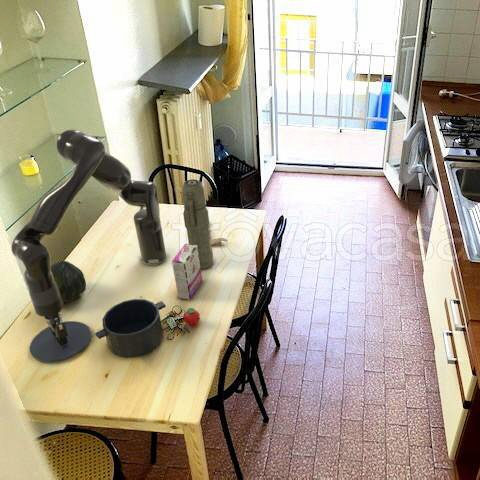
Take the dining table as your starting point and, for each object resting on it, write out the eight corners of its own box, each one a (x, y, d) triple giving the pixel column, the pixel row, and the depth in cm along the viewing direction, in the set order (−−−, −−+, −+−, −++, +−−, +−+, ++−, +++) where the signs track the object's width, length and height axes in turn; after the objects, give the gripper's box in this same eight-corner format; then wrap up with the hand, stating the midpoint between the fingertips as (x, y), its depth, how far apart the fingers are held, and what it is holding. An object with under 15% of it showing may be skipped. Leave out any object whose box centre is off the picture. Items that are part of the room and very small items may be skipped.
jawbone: (208, 252, 205) (207, 247, 204) (189, 229, 220) (188, 225, 219) (228, 244, 209) (227, 239, 208) (208, 222, 224) (207, 218, 222)
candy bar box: (190, 279, 189) (185, 242, 180) (202, 281, 188) (198, 244, 179) (177, 298, 180) (171, 260, 171) (190, 300, 179) (185, 262, 170)
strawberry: (182, 323, 169) (180, 310, 166) (195, 316, 172) (193, 303, 169) (190, 331, 166) (188, 317, 163) (203, 324, 169) (201, 310, 166)
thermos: (188, 273, 192) (176, 190, 173) (191, 255, 202) (181, 175, 183) (212, 272, 193) (203, 189, 174) (214, 254, 203) (206, 174, 184)
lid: (22, 341, 161) (16, 327, 157) (78, 316, 171) (73, 302, 168) (43, 373, 150) (37, 358, 147) (101, 344, 161) (97, 329, 157)
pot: (91, 341, 161) (84, 319, 156) (154, 310, 174) (150, 288, 169) (115, 371, 152) (108, 348, 146) (180, 336, 164) (176, 313, 159)
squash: (22, 292, 172) (40, 269, 165) (51, 268, 185) (69, 246, 177) (56, 319, 175) (75, 298, 168) (83, 294, 188) (101, 273, 180)
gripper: (68, 303, 148) (81, 345, 158) (49, 280, 157) (63, 322, 166) (41, 314, 144) (56, 357, 153) (23, 290, 153) (39, 332, 162)
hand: (60, 338), depth 160 cm, fingers open, 5 cm apart
